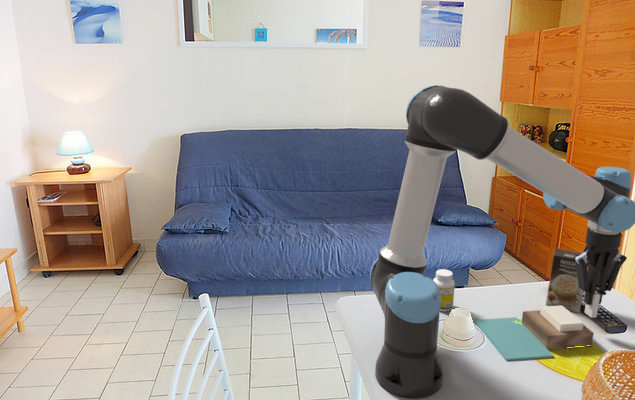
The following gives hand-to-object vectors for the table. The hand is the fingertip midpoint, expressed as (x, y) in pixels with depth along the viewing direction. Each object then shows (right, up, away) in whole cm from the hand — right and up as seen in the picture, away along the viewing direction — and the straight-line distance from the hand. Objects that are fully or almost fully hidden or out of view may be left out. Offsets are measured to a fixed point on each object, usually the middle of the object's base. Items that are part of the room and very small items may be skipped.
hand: (590, 314), depth 124 cm
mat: (-21, -6, -1) cm, 22 cm away
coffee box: (+1, -1, +16) cm, 16 cm away
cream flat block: (-8, -2, 0) cm, 8 cm away
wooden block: (-9, -6, +1) cm, 11 cm away
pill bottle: (-35, -2, +15) cm, 38 cm away
